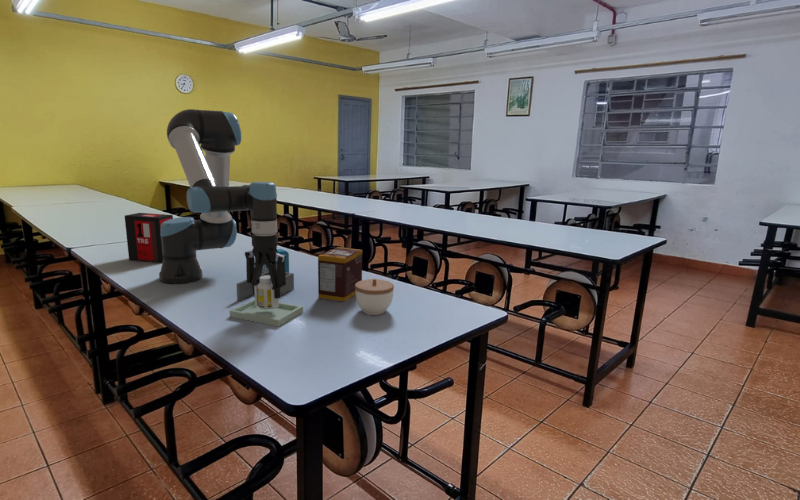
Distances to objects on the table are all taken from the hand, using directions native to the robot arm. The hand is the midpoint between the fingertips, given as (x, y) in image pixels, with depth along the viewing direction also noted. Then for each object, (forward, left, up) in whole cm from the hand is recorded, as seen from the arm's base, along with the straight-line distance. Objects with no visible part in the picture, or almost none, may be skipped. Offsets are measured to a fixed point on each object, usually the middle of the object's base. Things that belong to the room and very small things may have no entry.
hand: (266, 306), depth 141 cm
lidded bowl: (+29, +17, -3) cm, 34 cm away
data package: (-20, +30, -3) cm, 37 cm away
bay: (-12, +16, -3) cm, 21 cm away
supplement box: (+11, +28, -3) cm, 31 cm away
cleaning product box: (-86, +33, -3) cm, 92 cm away
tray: (0, 0, -3) cm, 3 cm away
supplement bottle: (0, 0, -1) cm, 1 cm away
